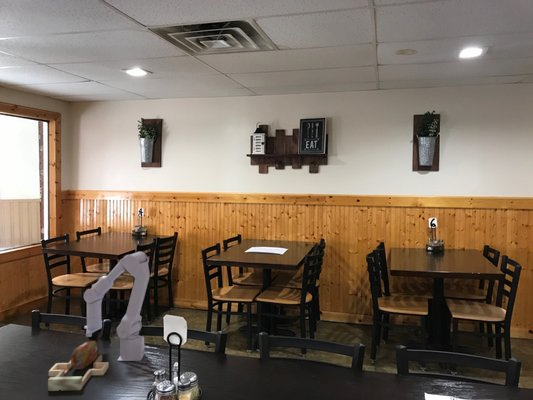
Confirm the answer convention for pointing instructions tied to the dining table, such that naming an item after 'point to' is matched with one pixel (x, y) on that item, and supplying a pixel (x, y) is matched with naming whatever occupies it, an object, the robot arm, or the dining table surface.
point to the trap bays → (55, 370)
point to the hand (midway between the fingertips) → (94, 347)
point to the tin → (84, 354)
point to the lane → (69, 379)
